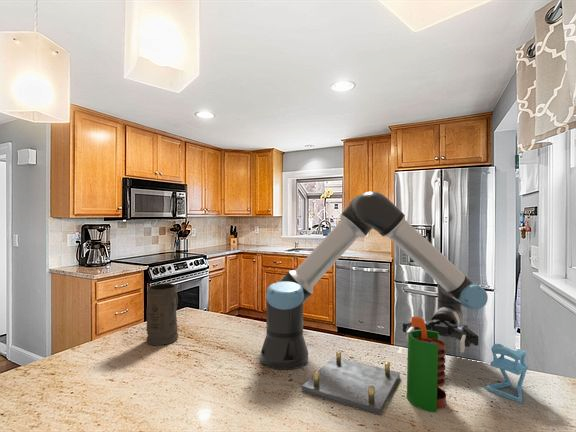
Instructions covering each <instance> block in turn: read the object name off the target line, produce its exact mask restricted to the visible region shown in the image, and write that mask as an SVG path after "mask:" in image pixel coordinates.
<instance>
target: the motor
mask: <svg viewBox="0 0 576 432" xmlns="http://www.w3.org/2000/svg"><path fill="white" fill-rule="evenodd" d="M423 319H424V318H422V317H421V316H411V321H410V322H411V327H419V328H420V329H421V330H412V331H410V332H409V333H408V342H407V360H406V361H407V368H406V370H407V371H406V399H407V400H408V401H409V403H411V405H413V406H414V407H416V408H418V409H421V410H423V411H426V412H431V413H437V411H438V410H442V409H444V408H446V406H447V393H446V391H445V390H444V389H442V388H441V387H443V386H445V383H446V379H445V377H446V372H445V371H446V348H447V347H446V346H447V345H446V342H444V341H443V340H440V339H439V338H440V335H439V332H435V331H430V330H426V325H425V322H426V321H425V319H424V320H423Z"/></svg>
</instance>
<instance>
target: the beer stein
mask: <svg viewBox="0 0 576 432" xmlns="http://www.w3.org/2000/svg"><path fill="white" fill-rule="evenodd" d="M177 291H178V289H177V285H176V284H174V283H158V284H153V285H150V286H148V287H147V290H146V294H147V299H146V300H147V304H146V334H147V337H146V342H147V344H148V345H151V346H165V345H169V344H171V343H174V342H175V341H177V340H178V338H179V333H178V329H179V328H178V319H177V317H178V316H177V309H178V303H179V298H178V297H179V296H178V292H177Z"/></svg>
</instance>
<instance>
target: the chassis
mask: <svg viewBox="0 0 576 432" xmlns="http://www.w3.org/2000/svg"><path fill="white" fill-rule="evenodd" d="M335 353H336V354H335V355H336V356H333V357H332V358H331V359H329V360H328V362H326V363H325V364H323V366H322V367H321V368H320V369H318V370H316V371H313V375H312V376H310V378H309V379H308V380H306V381H305V383H303V384H302V385H301V392H302V393H305V394H309V395H312V396H315V397H318V398H321V399H324V400H328V401H329V402H330V401H331V402H334V403H337V404H340V405H344V406H347V407H349V408H353V409H357V410H360V411H362V412H366V413H369V414H371V415H372V414H373V415H376V416H379V417H381V415H382V413H383V411H384V409H385V407H386V406H387V403H388V402H389V400H390V397H391V395H392V394H393V392H394V390H395V388H396V386H397V384H398V382H399V380H400V378H401V375H400V374H401V373H400V371H396V370H392V369H391V363H390V362H389V361H385V362H384V368H383V367H378V366H374V365H370V364H365V363H362V362H361V363H360V362H357V361H353V360H348V359H344V358H342V351H341V350H340V351H338V350H337V351H335Z"/></svg>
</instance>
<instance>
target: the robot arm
mask: <svg viewBox="0 0 576 432" xmlns="http://www.w3.org/2000/svg"><path fill="white" fill-rule="evenodd" d="M339 218H340V219H339V222H338V223H337V224H336V226H334V228H333V229H331V231H330V232H329V233H328V234H327V235H326V236H325V238H324V239H322V240H321V242H320V243H318V245H317V246H316V247H315V248H314V249H313V250H312V252H310V253H309V255H307V257H306V258H305V259H304V260H303V261H302V262H301V264H299V266H298V267H297V268H296V269H292V270H290V269H289V270H288V271H287V273H286V274H285V275H284V276H283V277H282V278H281V279H279V280H278V281H276V282H274V283H271V284H270V285H269V286H268V287H267V289H266V296H265V299H266V333H265V338H264V341H263V344H262V346H261V350H260V362H261V364H263V366H266V367H268V368H271V369H274V370H275V369H277V370H293V369H298V368H301V367H303V366H304V365H306V364H308V362H309V350H308V348H307V347H308V346H307V344H306V340H305V336H304V304H305V303H306V301H308V299H309V298H310V297H311V296H312V295H313V293H314V286H316V284H317V283H318V282H319V281H320V280H321V279H322V278H323V277H324V275H326V273H327V272H328V271H329V270H330V269H331V267H333V265H334V264H336V262H337V261H338V260H340V258H341V257H342V255H344V253H345V252H346V251H348V250H349V248H350V247H351V246H352V245H353V244H354V242H355V241H357V239H358V238H365V237H366V236H367V235H368V234H369V233H370V232H371V231H372V230H374V231H376V232H377V233H378V234H380V235H381V237H385V238H386V237H387V238H388V239H390V240H391V241H392V242H393V243H394V244H395V245H396V246H397V247H398V248H399V249H400V250H401V251H403V252H404V253H405V254H406V255H407V256H408V257H409V258H410V259H411V260H412V261H414V263H416V264H417V265H418V267H420V269H422V270H423V271H424V272H425V273H426V274H428V276H430V277H431V278H432V279H433V281H435V282H436V283H437V310H436V311H435V313H434V314H433V316H432V318H430V320H426V321H425V319H424V318H422V319H423V320H424V322H425V325H426V330H430V331H435V332H439V337H440V336H441V337H444V338H445V337H446V338H447V337H450V338H454V339H456V340H459V346H460V347H459V350H460V351H459V352H460V353H462V354H464V352H465V349H466V347H467V348H470V347H471V345H473V346H476V347H477V346H479V344H480V342H479V335H477V334H476V333H475V332H473V330H471V329H470V328H468V325H463V326H461V327H459V325H460V323H461V321H462V319H463V314H464V313H463V309H462V306H463V307H464V308H466V309H470V310H471V311H473V310H474V311H476V310H477V311H478V310H481V309H483V308H484V307H485V306H486V305H487V303H488V300H489V299H488V296H489V295H488V293H487V291H486V290H485V289H484V288H483V287H482V286H480V285H479V284H476V283H474V282H473V281H472V280H471V279H470V278H469V277H468V276H466V275H465V274H464V273H463V272H462V271H461V270H460V269H459V268H458V267H457V266H455V264H453V262H451V261H450V260H449V258H447V257H446V256H445V255H444V254H443V253H442V252H441V251H440V250H439V249H438V248H436V247H435V246H434V244H432V243H431V242H430V241H429V240H428V239H427V238H426V237H424V236H423V234H421V233H420V232H419V231H418V230H417V229H416V228H415V227H414V226H412V225H411V224H410V223H409V222H408V221H407V220H406V214H405V213H403V212H402V211H401V210H400V209H399V208H398V207H397V206H396V205H395V204H394V203H393V202H392V201H391V200H390V198H388V197H387V196H385V195H384V194H382V193H381V192H377V191H366V192H364V193H362V194H359V195H357V196H355V197H353V199H352V200H351V201H350V202H349V203H348V206H347V207H346V208H345V210H343V212H342V213H341V214H340V215H339ZM412 330H421V329H420V328H419V327H411V321H406V322H403V323H402V332H403V333H405V336H406V337H405V340H406V342H407V343H408V333H409V332H410V331H412Z"/></svg>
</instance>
